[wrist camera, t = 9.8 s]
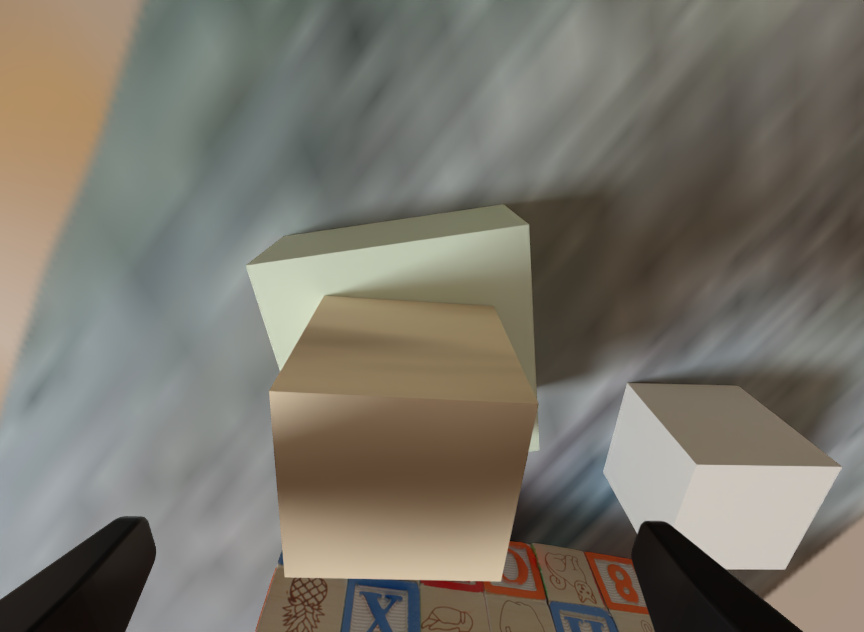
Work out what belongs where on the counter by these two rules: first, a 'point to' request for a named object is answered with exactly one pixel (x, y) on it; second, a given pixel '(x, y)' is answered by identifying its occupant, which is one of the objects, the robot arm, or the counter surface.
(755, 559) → the grey cube
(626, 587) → the stack of blocks
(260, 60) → the counter surface
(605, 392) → the counter surface
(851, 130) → the counter surface
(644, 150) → the counter surface
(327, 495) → the maple cube
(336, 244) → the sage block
